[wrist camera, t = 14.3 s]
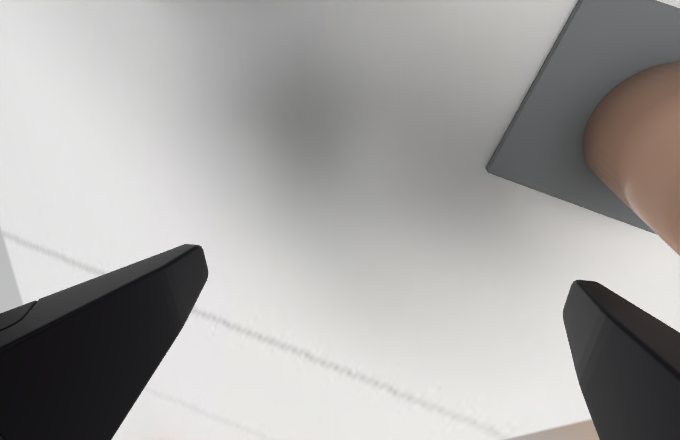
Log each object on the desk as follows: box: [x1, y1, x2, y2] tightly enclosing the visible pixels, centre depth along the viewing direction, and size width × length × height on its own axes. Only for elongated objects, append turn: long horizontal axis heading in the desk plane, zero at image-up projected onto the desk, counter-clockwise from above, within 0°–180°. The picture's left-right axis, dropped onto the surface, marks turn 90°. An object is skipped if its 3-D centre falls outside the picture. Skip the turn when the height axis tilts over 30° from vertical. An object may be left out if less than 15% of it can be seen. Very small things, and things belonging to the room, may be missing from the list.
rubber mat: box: [486, 0, 680, 234], centre depth 17 cm, size 12×9×1 cm
